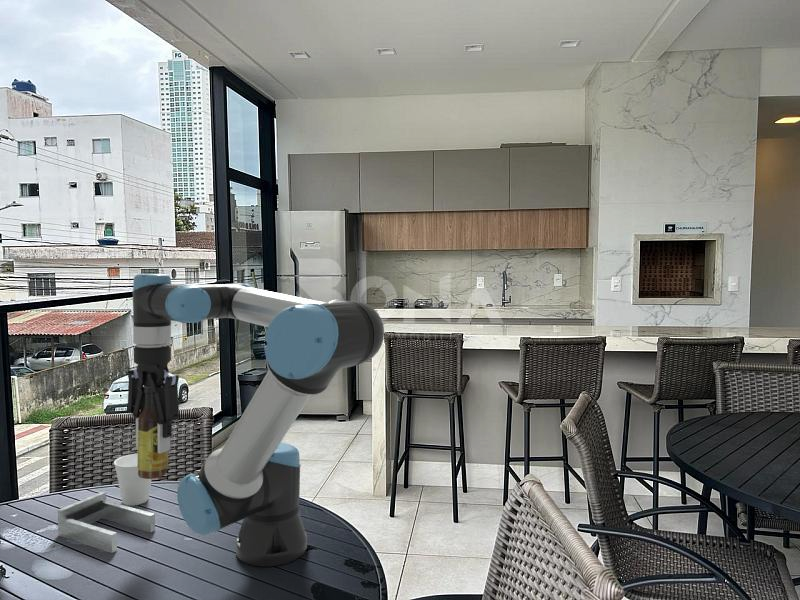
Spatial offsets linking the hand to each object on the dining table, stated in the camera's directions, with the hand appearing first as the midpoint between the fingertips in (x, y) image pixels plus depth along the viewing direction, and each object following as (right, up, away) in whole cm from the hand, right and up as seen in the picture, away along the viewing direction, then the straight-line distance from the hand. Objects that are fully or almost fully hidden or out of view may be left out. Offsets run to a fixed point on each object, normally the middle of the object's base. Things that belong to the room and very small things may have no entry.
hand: (153, 448), depth 125 cm
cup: (-14, -19, +22) cm, 32 cm away
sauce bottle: (0, -6, +1) cm, 6 cm away
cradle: (-12, -21, +4) cm, 24 cm away
